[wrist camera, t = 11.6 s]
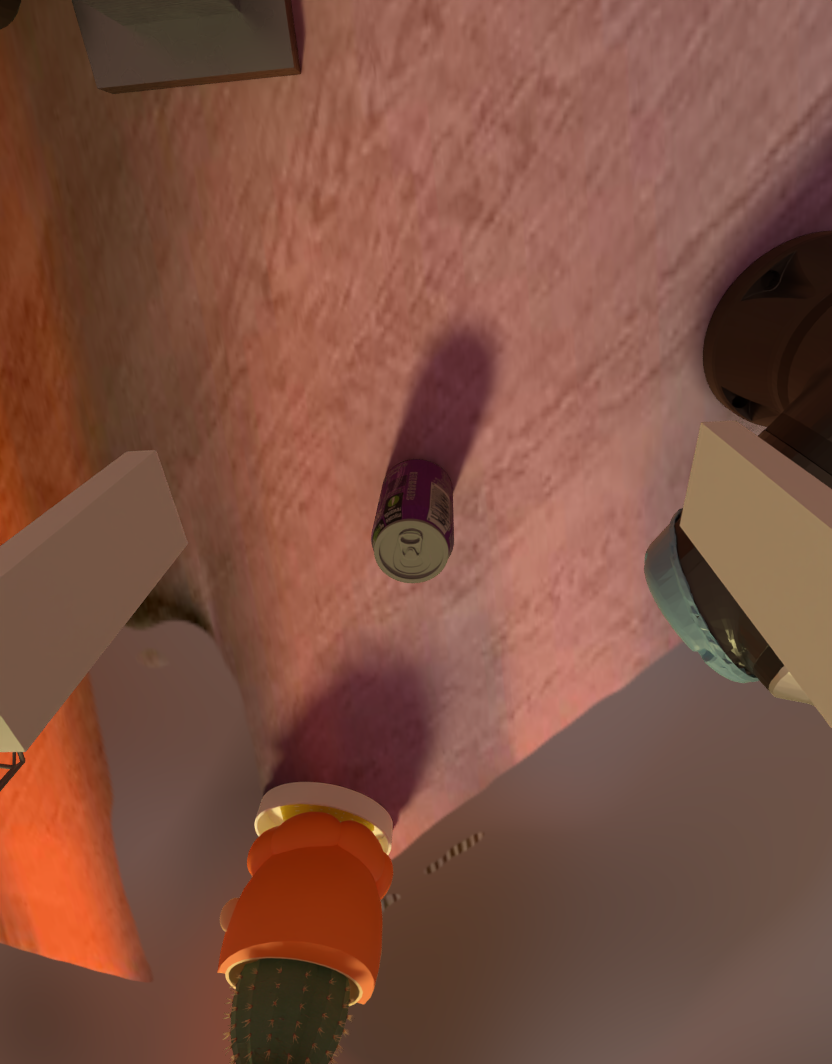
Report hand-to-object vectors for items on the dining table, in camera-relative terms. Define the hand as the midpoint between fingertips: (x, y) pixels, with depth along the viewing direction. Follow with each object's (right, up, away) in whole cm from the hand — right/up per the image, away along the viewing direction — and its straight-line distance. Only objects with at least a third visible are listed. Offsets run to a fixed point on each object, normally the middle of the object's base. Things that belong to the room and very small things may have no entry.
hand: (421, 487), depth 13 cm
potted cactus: (-14, -44, +70) cm, 84 cm away
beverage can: (0, +3, +41) cm, 41 cm away
